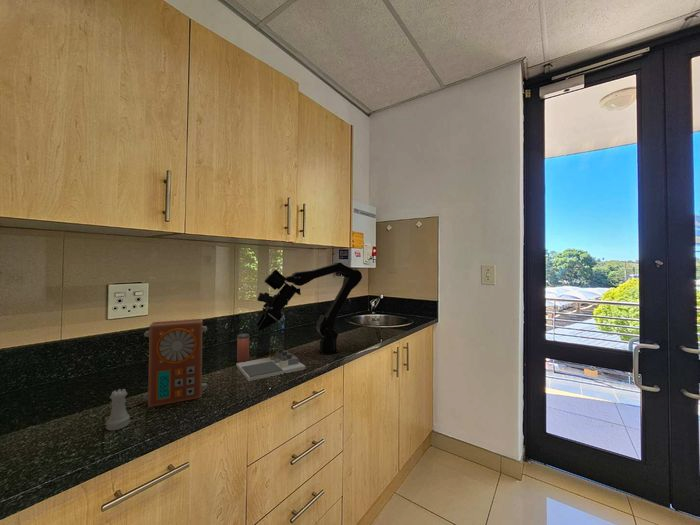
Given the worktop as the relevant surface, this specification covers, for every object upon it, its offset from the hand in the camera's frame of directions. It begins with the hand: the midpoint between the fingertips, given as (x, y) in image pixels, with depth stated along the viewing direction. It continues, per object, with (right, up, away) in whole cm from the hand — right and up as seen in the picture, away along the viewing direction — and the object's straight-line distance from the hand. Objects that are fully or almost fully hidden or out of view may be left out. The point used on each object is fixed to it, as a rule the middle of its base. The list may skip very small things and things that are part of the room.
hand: (258, 327), depth 116 cm
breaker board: (+8, -12, -10) cm, 18 cm away
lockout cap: (-6, -13, -1) cm, 14 cm away
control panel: (-12, -12, -36) cm, 39 cm away
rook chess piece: (-17, -12, -50) cm, 54 cm away
